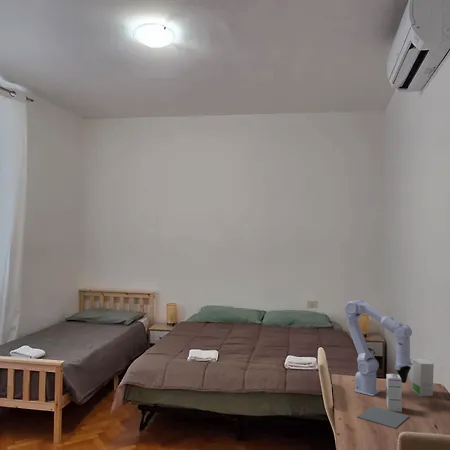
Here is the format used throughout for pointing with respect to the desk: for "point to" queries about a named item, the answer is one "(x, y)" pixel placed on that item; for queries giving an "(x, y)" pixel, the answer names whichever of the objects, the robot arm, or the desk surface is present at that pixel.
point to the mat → (383, 417)
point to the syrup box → (394, 392)
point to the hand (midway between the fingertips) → (403, 382)
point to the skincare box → (422, 377)
